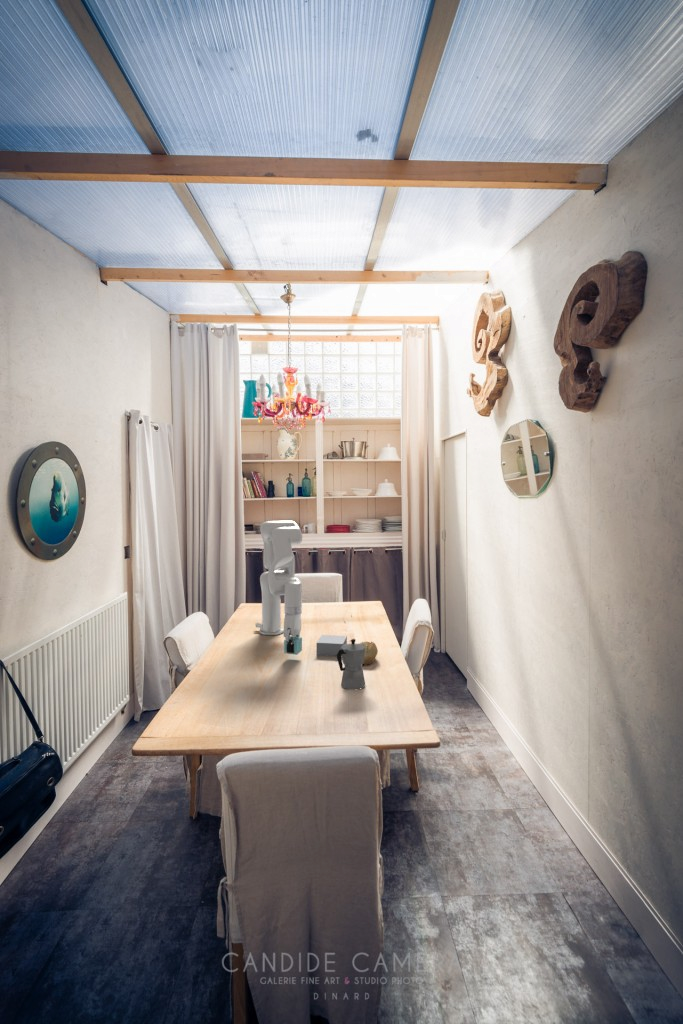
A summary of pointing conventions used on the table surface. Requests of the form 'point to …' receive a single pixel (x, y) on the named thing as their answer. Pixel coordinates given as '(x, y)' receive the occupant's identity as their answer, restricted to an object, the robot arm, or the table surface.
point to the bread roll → (369, 652)
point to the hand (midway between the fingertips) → (293, 649)
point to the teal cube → (297, 645)
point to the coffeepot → (352, 665)
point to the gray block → (330, 644)
